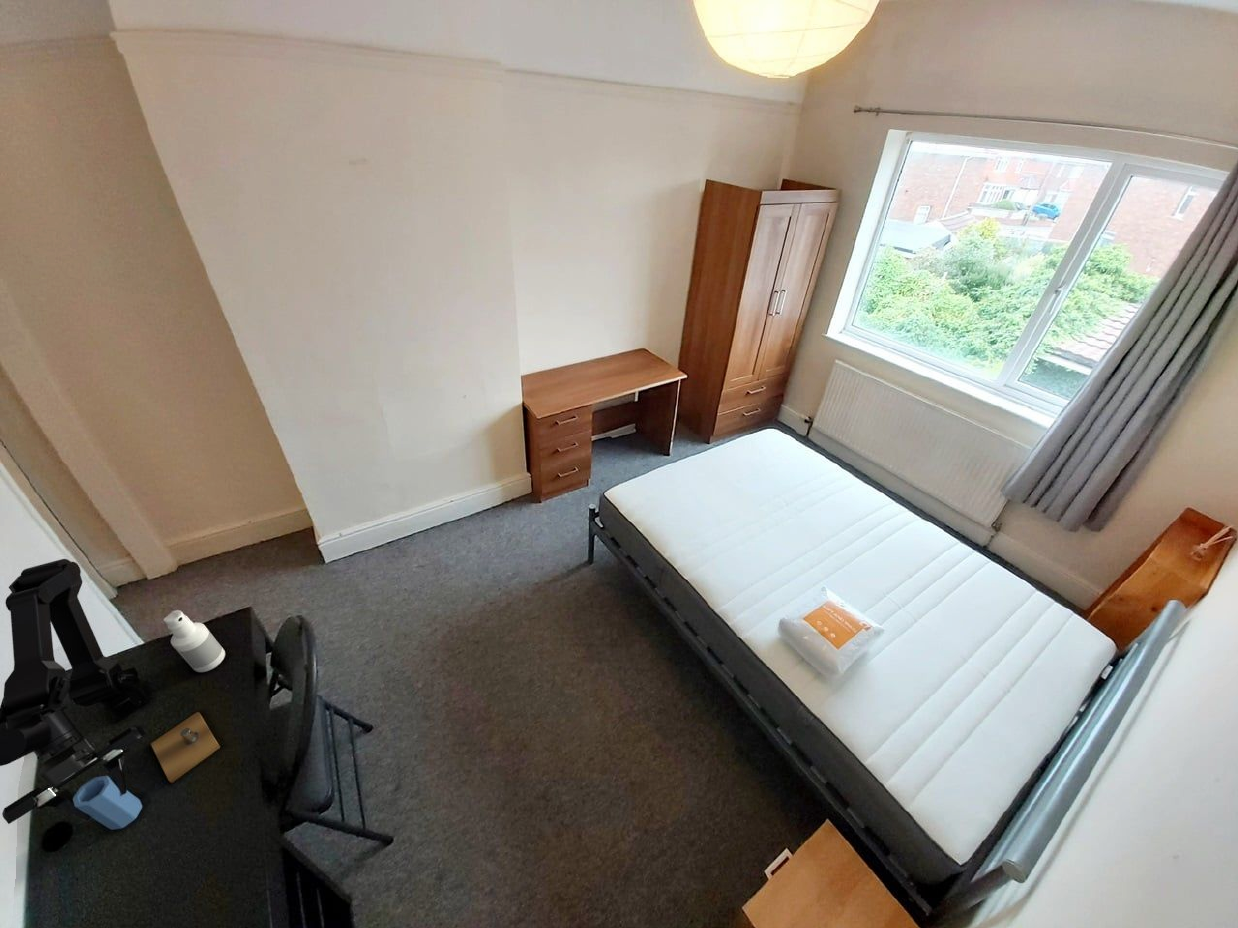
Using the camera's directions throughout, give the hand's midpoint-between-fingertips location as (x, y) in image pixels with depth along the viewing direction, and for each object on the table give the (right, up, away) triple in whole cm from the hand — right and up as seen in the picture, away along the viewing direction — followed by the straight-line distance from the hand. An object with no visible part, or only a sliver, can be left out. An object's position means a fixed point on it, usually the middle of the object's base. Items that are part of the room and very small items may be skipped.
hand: (107, 805), depth 94 cm
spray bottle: (-7, +15, +32) cm, 36 cm away
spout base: (+2, +3, +15) cm, 15 cm away
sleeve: (-1, -5, +5) cm, 7 cm away
